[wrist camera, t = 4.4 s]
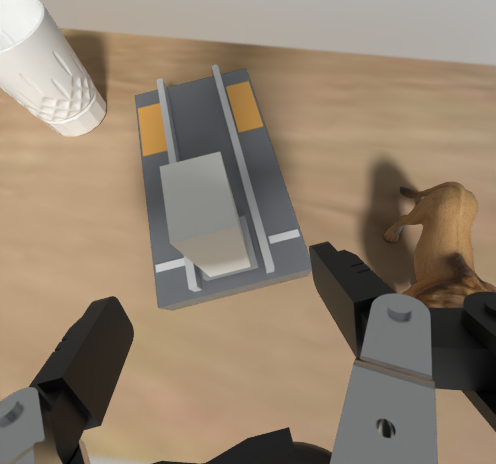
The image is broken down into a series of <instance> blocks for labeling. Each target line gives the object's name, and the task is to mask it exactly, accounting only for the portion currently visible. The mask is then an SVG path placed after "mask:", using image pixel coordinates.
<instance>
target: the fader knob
mask: <svg viewBox="0 0 496 464" xmlns="http://www.w3.org/2000/svg"><path fill="white" fill-rule="evenodd" d="M160 174H161V181H162V188H163V196H164V203H165V210H166V218H167V225H168V232H169V239H170V244H171V245H173V246H174V247H175V248H176V249H177V250H178V251H180V252H181V253H182V254H183V255H184V256H186V257H187V258H188V259H189V260H190V261H192V262H193V263H194V264H195V265H196V266H198V267H199V268H200V269H201V270H202V273H203V279H204V280H206V281H209V280H213V279H217V278H221V277H225V276H229V275H233V274H237V273H241V272H245V271H249V270H252V269H256V268H258V264H257V260H256V257H255V253H254V249H253V245H252V241H251V237H250V233H249V229H248V226H247V222H246V218H245V216H242V217H238V213H237V210H236V206H235V202H234V199H233V195H232V192H231V188H230V185H229V181H228V178H227V174H226V170H225V167H224V163H223V160H222V156H221V153H220V152H216V153H212V154H208V155H204V156H200V157H196V158H192V159H188V160H184V161H180V162H176V163H172V164H168V165H164V166H160Z"/></svg>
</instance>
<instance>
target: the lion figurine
mask: <svg viewBox="0 0 496 464" xmlns="http://www.w3.org/2000/svg"><path fill="white" fill-rule="evenodd" d="M400 192H401V194H402V195H404V196H407V197H410V198H417V197H424V198H423V199H422V200H421V201H420V202H419V203H418V204H417V205H416V206H415V207H414V209H413V210H412V211H411V212H410V213H409V214H408V215H404V216H402V217H401V218H400V219H399V220H398V221H397V222H396V223H395V224H394V225H393V226H391V227H390V228H389V229H388V230H387V231H386V232H385V233H384V238H385V239H386V240H387V241H389V242H396V241H397V240H398V239H399V234H400V231H401V230H402V229H403V227H405V226H406V225H416V224H422V225H423V231H422V234H421V236H420V239H419V241H418V244H417V246H416V249H415V255H414V268H415V275H416V279H417V282H416V283H415V284H413V285H412V286H411V287H410V288H409V289H408V290H407V291H405V292H403V293H401V294H404V295H408V296H411V297H413V298H416V299H417V300H419V301H421V302H422V303H423V304H424V305H425V306H426V307H428V308H462V307H463V301H464V299H465V297H466V296H468V295H469V294H472V293H475V292H484V291H487V292H496V287H495V286H493V285H491V284H489V283H487V282H484V281H482V280H481V279H480V278H479V277H478V276H477V274H476V273H475V271H474V259H473V249H472V245H471V226H472V223H473V221H474V219H475V217H476V214H477V212H478V202H477V200H476V198H475V196H474V195H473V193H472V192H470V191H468V190H466V189H465V188H464V186H463V185H461V184H460V183H457V182H446V183H443V184H440V185H438V186H435V187H433V188H430V189H427V190H424V191H421V192H414V191H411V190H409V189H407V188H404V187H400ZM425 196H426V197H425Z"/></svg>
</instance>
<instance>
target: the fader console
mask: <svg viewBox="0 0 496 464" xmlns="http://www.w3.org/2000/svg"><path fill="white" fill-rule="evenodd" d="M212 70H213V75H214V76H212V77H208V78H204V79H200V80H196V81H192V82H188V83H184V84H180V85H175V86H171V87H167V88H166V85H165V83H164V81H163V78H160V79H156V80H157V86H158V90H155V91H151V92H147V93H143V94H139V95H135V102H136V111H137V120H138V130H139V139H140V148H141V157H142V166H143V175H144V185H145V194H146V203H147V212H148V221H149V230H150V240H151V249H152V258H153V267H154V276H155V285H156V295H157V304H158V308H161V309H167V310H176V309H179V308H183V307H187V306H191V305H195V304H199V303H203V302H207V301H211V300H215V299H219V298H223V297H227V296H231V295H234V294H238V293H242V292H246V291H250V290H254V289H258V288H262V287H266V286H270V285H274V284H278V283H282V282H285V281H289V280H293V279H297V278H301V277H305V276H308V275H309V274H310V272H311V271H312V266H311V260H310V257H309V254H308V251H307V248H306V245H305V242H304V239H303V236H302V233H301V230H300V227H299V224H298V221H297V218H296V215H295V213H294V210H293V207H292V204H291V201H290V198H289V195H288V192H287V189H286V186H285V183H284V180H283V177H282V174H281V171H280V168H279V165H278V162H277V159H276V156H275V153H274V150H273V147H272V144H271V141H270V138H269V135H268V132H267V129H266V126H265V123H264V120H263V117H262V114H261V111H260V108H259V105H258V102H257V99H256V96H255V93H254V90H253V87H252V84H251V81H250V78H249V75H248V72H247V69H246V68H244V69H240V70H236V71H232V72H228V73H224V74H220V72H219V68H218V65H213V66H212ZM216 152H220V153H221V156H222V160H223V163H224V167H225V170H226V174H227V178H228V181H229V185H230V188H231V192H232V195H233V199H234V202H235V206H236V210H237V213H238V217H242V216H245V218H246V222H247V226H248V229H249V233H250V237H251V241H252V245H253V249H254V253H255V257H256V260H257V264H258V268H256V269H252V270H249V271H245V272H241V273H237V274H233V275H229V276H225V277H221V278H217V279H213V280H209V281H206V280H204V279H203V273H202V270H201V269H200V268H199V267H198V266H196V265H195V264H194V263H193V262H192V261H190V260H189V259H188V258H187V257H186V256H184V255H183V254H182V253H181V252H180V251H178V250H177V249H176V248H175V247H174V246H173V245H171V244H170V239H169V232H168V225H167V218H166V210H165V203H164V196H163V188H162V181H161V174H160V166H164V165H168V164H172V163H176V162H180V161H184V160H188V159H192V158H196V157H200V156H204V155H208V154H212V153H216Z"/></svg>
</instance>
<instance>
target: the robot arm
mask: <svg viewBox="0 0 496 464" xmlns="http://www.w3.org/2000/svg"><path fill="white" fill-rule="evenodd" d="M309 252H310V259H311V266H312V273H313V279H314V283H315V286H316V289H317V291H318V293H319V295H320V297H321V298H322V300H323V302H324V303H325V305H326V307H327V309H328V310H329V312H330V314H331V315H332V317H333V319H334V320H335V322H336V324H337V326H338V327H339V329H340V331H341V332H342V334H343V336H344V338H345V339H346V341H347V343H348V344H349V346H350V348H351V350H352V351H353V353H354V355H355V356H356V359H355V361H354V364H353V368H352V372H351V376H350V380H349V384H348V389H347V393H346V397H345V401H344V406H343V410H342V414H341V418H340V422H339V427H338V431H337V435H336V439H335V443H334V448H333V452H330V451H328V450H326V449H324V448H321V447H319V446H316V445H313V444H308V443H304V442H293V440H292V437H291V433H290V429H289V427H288V428H285V429H281V430H277V431H273V432H270V433H266V434H262V435H258V436H254V437H251V438H247V439H246V440H244V441H242V442H241V443H239V444H237V445H236V446H234V447H232V448H230V449H229V450H227V451H225V452H224V453H222V454H220V455H219V456H217V457H215V458H214V459H212V460H210V461H208V462H206V463H203V464H438V454H437V425H436V397H435V388H437V389H451V390H462V392H463V393H464V394H465V395H466V396H467V398H468V399H469V400H470V401H471V403H472V404H473V405H474V406H475V407H476V409H477V410H478V411H479V412H480V413H481V415H482V416H483V417H484V418H485V419H486V421H487V422H488V423H489V424H490V425H491V427H492V428H493V429H494V430H495V432H496V292H487V291H484V292H475V293H472V294H469V295H468V296H466V297H465V299H464V301H463V307H462V308H428V307H426V306H425V305H424V304H423V303H422V302H421V301H419V300H417V299H416V298H413V297H411V296H408V295H404V294H396V293H395V292H394V291H393V290H392V289H391V288H390V287H389V286H388V285H387V284H386V283H384V282H383V281H382V280H381V279H380V278H379V277H378V276H377V275H376V274H375V273H374V272H373V271H372V270H370V268H369V267H368V266H367V265H366V264H364V262H363V261H362V260H361V259H360V258H359V257H358V256H357V255H355V254H353V253H351V252H348V251H346V250H342V251H337V250H336V249H335V248H334V247H333V246H332V245H331V244H330V243H329V242H323V243H320V244H316V245H312V246H310V247H309ZM133 337H134V330H133V326H132V324H131V322H130V320H129V318H128V316H127V315H126V313H125V311H124V309H123V307H122V306H121V304H120V302H119V300H118V299H117V298H116V297H114V296H112V297H108V298H104V299H100V300H96V301H93V302H92V303H91V304H90V306H89V307H88V309H87V310H86V312H85V313H84V315H83V316H82V317H81V318H80V319H79V320H78V321H77V322H76V323H75V324H74V325H73V326H72V327H70V329H69V330H68V331H67V333H66V334H65V336H64V337H63V339H62V342H60V343H59V344H58V346H57V347H56V349H55V352H53V353H52V354H51V356H50V357H49V359H48V360H47V361H46V363H45V364H44V366H43V367H42V369H41V370H40V371H39V373H38V374H37V376H36V377H35V379H34V380H33V381H32V383H31V384H30V386H29V387H28V388H24V389H21V390H18V391H16V392H14V393H12V394H11V395H9V396H8V397H6V398H5V399H3V400H2V401H1V402H0V464H90V460H89V457H88V453H87V450H86V447H85V444H84V442H83V441H82V440H81V439H80V438H81V436H82V433H83V431H84V430H86V429H90V428H94V427H98V426H101V424H102V421H103V418H104V416H105V413H106V410H107V408H108V405H109V403H110V400H111V397H112V395H113V392H114V389H115V387H116V384H117V381H118V379H119V376H120V373H121V371H122V368H123V365H124V363H125V360H126V357H127V355H128V352H129V349H130V347H131V344H132V341H133ZM152 464H197V463H183V462H169V461H160V462H156V463H152Z"/></svg>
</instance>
